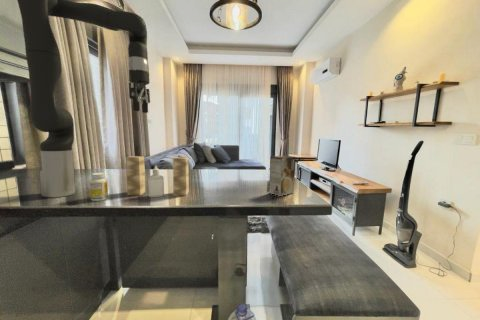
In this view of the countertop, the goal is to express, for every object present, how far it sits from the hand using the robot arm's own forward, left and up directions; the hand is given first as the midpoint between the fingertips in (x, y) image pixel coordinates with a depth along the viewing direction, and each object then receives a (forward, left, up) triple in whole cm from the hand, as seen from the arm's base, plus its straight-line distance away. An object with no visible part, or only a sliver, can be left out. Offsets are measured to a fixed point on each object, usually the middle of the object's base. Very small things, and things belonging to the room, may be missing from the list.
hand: (141, 111), depth 91 cm
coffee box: (+60, -3, -33) cm, 68 cm away
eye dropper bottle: (+9, -9, -33) cm, 35 cm away
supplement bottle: (-10, -14, -33) cm, 38 cm away
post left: (0, -6, -33) cm, 34 cm away
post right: (+18, -6, -33) cm, 38 cm away
